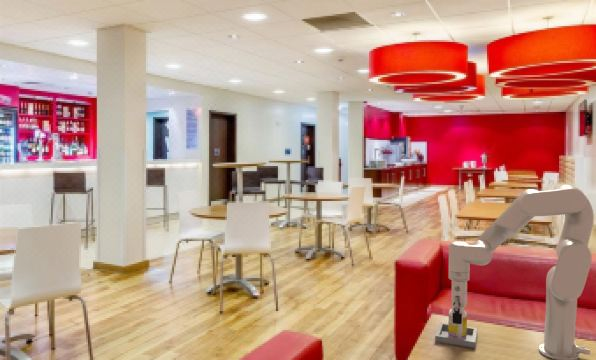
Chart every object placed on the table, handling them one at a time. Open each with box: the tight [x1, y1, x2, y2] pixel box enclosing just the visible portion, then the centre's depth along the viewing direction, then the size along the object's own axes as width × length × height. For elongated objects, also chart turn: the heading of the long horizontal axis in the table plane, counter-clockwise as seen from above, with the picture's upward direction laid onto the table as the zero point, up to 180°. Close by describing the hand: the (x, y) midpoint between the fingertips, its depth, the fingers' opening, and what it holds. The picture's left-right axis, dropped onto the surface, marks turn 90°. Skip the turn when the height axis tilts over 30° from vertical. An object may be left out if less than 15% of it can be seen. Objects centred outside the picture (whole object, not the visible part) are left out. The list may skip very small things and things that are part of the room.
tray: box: [434, 322, 478, 350], centre depth 184 cm, size 14×14×2 cm
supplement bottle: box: [447, 305, 468, 339], centre depth 183 cm, size 7×7×13 cm
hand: (458, 318), depth 183 cm, fingers open, 9 cm apart
